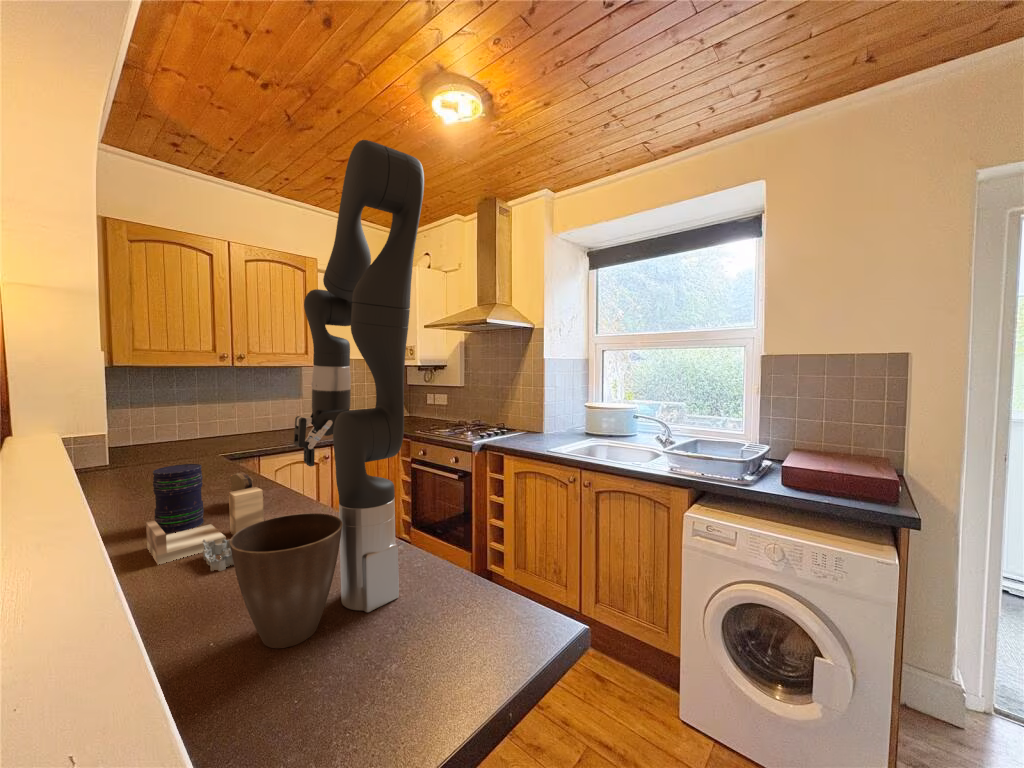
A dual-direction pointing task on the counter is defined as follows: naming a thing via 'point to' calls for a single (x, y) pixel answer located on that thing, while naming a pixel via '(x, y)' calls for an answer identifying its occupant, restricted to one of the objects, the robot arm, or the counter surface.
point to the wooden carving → (240, 482)
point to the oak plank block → (245, 508)
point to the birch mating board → (179, 541)
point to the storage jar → (178, 497)
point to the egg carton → (221, 549)
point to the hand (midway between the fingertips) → (330, 461)
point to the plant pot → (286, 573)
